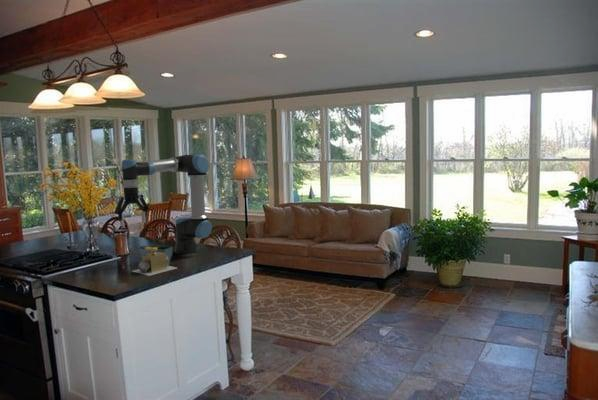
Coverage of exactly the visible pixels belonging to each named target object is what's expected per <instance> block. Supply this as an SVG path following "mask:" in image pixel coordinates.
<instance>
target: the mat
mask: <svg viewBox="0 0 598 400" xmlns="http://www.w3.org/2000/svg"><path fill="white" fill-rule="evenodd" d="M177 269H178V267H176V266H171V265H169V266H167V269H164V270H160V271H156V272H152V273H151V272H145V273H143V272H142V271H140V270H139V268H138V269H134V270H131V272H133V273H137V274H141V275H145V276H149V277H150V276H153V275H157V274H160V273H162V274H163V273H166V272H168V271H172V270H177Z"/></svg>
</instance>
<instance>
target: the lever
mask: <svg viewBox="0 0 598 400" xmlns="http://www.w3.org/2000/svg"><path fill="white" fill-rule="evenodd" d="M157 248H158V247H150V246H147V245H141V246H139V250H146V251H149V253H151V252H154V251H157Z"/></svg>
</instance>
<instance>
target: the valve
mask: <svg viewBox="0 0 598 400" xmlns="http://www.w3.org/2000/svg"><path fill="white" fill-rule="evenodd" d="M170 264H171V259H169V257H167V256H166V253H162V252H156V251H154V252H149V253H145V254H141V260H140V261H139V263H138V264H137V265H138V266H137V267H138V269H139V270H140V271H142V272H143V273H145V272H151V273H152V272H156V271H160V270H164V269H167V266H170Z"/></svg>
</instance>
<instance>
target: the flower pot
mask: <svg viewBox="0 0 598 400" xmlns="http://www.w3.org/2000/svg"><path fill="white" fill-rule="evenodd" d="M156 248H157V251H156V252H162V253H166V256H167V257H169V259H170V260H171V259H172V257H173V249H174V248H173V246H164V245H163V246H158V247H156Z"/></svg>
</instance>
